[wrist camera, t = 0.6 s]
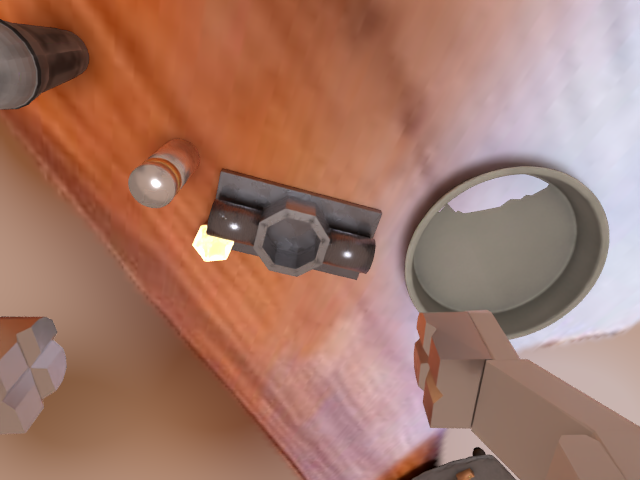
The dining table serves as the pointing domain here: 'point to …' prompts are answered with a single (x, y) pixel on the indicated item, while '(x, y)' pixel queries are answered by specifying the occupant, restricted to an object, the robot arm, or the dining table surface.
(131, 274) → the dining table surface
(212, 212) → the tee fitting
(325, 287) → the dining table surface
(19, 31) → the beverage cup
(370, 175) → the dining table surface
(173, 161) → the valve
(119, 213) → the dining table surface
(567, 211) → the cake pan
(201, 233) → the yellow piece
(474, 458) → the serving board
